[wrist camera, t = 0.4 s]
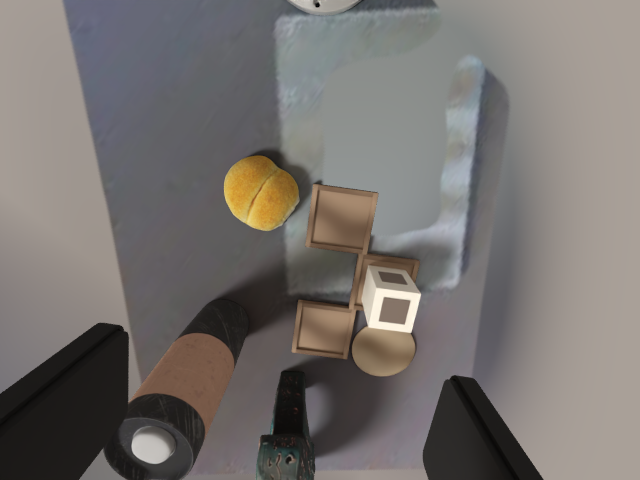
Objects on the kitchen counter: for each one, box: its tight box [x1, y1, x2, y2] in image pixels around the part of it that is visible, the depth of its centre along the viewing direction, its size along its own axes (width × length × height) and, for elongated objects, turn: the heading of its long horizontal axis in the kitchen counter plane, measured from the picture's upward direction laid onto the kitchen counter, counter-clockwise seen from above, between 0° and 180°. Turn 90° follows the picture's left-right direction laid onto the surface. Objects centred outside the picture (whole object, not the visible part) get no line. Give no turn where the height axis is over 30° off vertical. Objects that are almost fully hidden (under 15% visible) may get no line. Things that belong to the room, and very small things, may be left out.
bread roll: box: [224, 156, 300, 231], centre depth 38 cm, size 8×9×4 cm
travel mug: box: [103, 300, 249, 480], centre depth 35 cm, size 8×8×20 cm
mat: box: [352, 325, 415, 376], centre depth 45 cm, size 9×9×1 cm
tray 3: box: [349, 253, 420, 311], centre depth 42 cm, size 8×8×1 cm
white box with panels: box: [362, 265, 421, 333], centre depth 39 cm, size 5×5×7 cm
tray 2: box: [292, 299, 356, 359], centre depth 44 cm, size 8×8×1 cm
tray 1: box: [305, 184, 378, 255], centre depth 40 cm, size 8×8×1 cm
